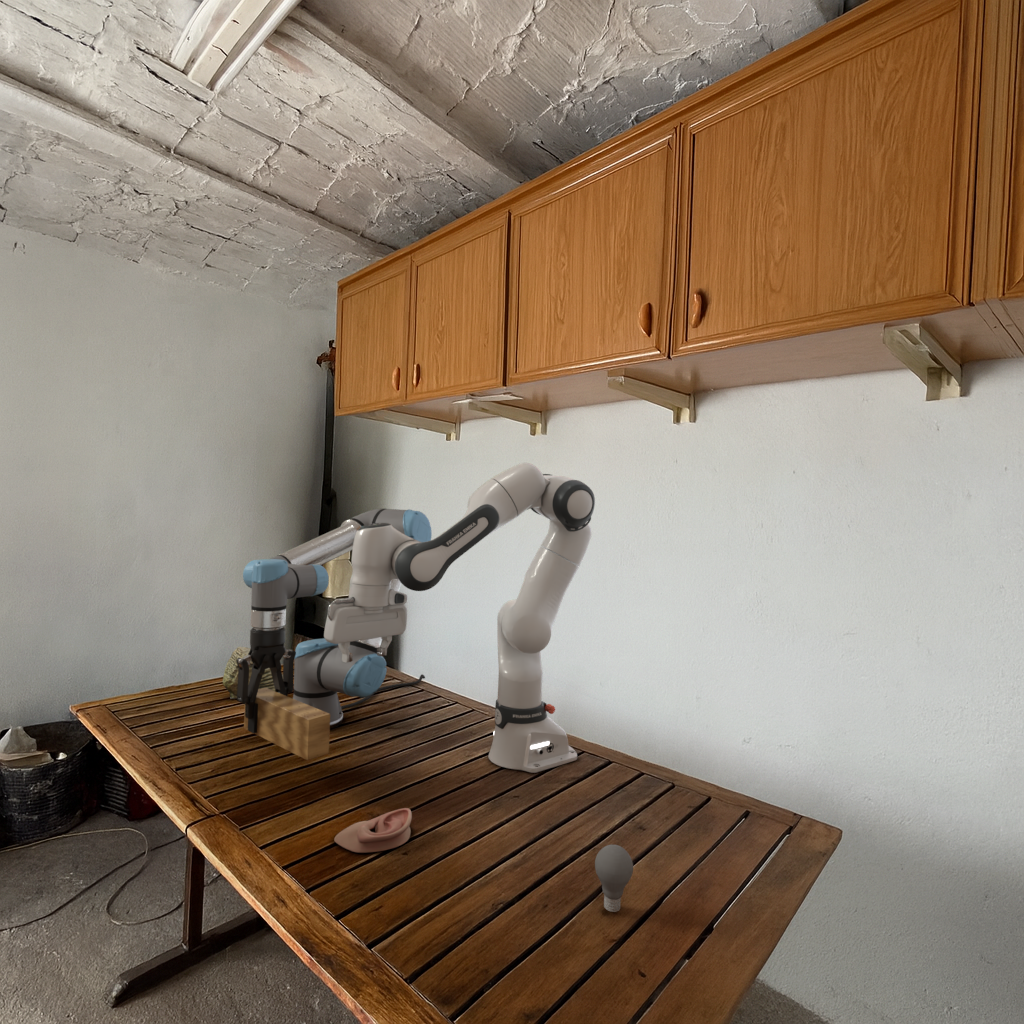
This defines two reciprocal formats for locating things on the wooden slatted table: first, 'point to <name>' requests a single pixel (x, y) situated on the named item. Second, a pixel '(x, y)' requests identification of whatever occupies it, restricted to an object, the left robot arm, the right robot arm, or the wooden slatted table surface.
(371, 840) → the anatomical model
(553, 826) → the wooden slatted table surface
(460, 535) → the right robot arm
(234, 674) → the fossil
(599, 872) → the light bulb
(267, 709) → the bar
